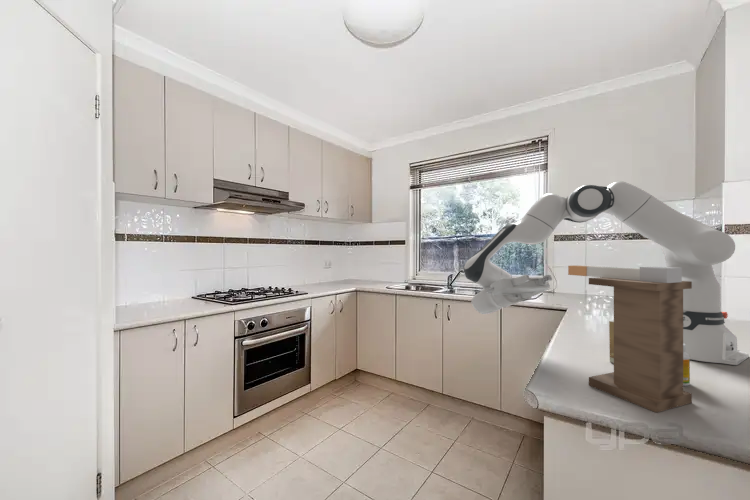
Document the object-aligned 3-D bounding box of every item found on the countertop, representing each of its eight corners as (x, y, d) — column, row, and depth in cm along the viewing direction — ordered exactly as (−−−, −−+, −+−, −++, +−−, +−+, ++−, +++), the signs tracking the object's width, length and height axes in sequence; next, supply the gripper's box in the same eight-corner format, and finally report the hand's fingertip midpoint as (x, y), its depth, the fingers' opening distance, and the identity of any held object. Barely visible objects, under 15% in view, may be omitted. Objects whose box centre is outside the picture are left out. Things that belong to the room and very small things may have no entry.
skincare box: (623, 359, 96) (623, 318, 96) (639, 364, 92) (639, 321, 92) (608, 362, 94) (608, 320, 94) (623, 367, 90) (623, 323, 90)
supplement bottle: (695, 387, 77) (695, 346, 77) (669, 385, 78) (669, 345, 78) (679, 378, 82) (679, 340, 82) (655, 376, 83) (655, 339, 83)
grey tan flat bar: (578, 274, 89) (578, 263, 89) (681, 282, 68) (681, 267, 68) (565, 274, 87) (565, 263, 87) (667, 283, 66) (667, 268, 66)
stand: (621, 378, 82) (621, 276, 82) (691, 402, 69) (691, 281, 69) (588, 385, 78) (588, 277, 78) (656, 412, 65) (656, 283, 65)
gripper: (480, 283, 107) (509, 267, 95) (525, 282, 115) (558, 267, 103) (486, 302, 104) (516, 287, 93) (532, 299, 112) (565, 286, 101)
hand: (539, 277), depth 98 cm, fingers open, 8 cm apart
